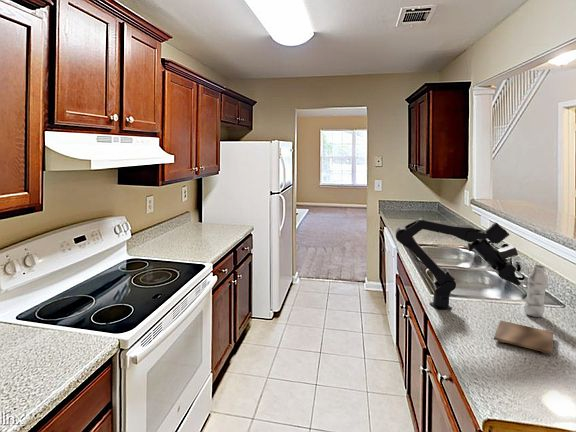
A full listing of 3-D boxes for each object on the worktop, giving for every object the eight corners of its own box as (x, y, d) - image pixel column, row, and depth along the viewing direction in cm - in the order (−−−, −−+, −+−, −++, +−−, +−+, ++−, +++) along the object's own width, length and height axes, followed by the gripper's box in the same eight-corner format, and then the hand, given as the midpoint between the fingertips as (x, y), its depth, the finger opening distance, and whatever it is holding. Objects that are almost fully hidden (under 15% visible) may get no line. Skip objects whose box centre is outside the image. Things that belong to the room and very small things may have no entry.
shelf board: (493, 342, 126) (494, 337, 126) (500, 325, 139) (500, 320, 139) (551, 357, 117) (552, 351, 117) (552, 337, 130) (553, 332, 129)
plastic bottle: (524, 310, 152) (529, 262, 149) (544, 315, 148) (550, 266, 145) (522, 316, 147) (527, 266, 144) (542, 320, 143) (548, 269, 140)
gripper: (512, 243, 137) (543, 275, 136) (498, 233, 155) (525, 261, 154) (486, 263, 140) (516, 294, 139) (475, 250, 158) (502, 278, 157)
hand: (515, 280), depth 147 cm, fingers open, 9 cm apart
